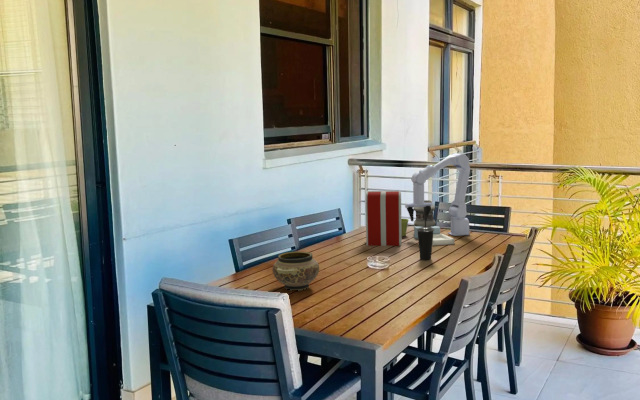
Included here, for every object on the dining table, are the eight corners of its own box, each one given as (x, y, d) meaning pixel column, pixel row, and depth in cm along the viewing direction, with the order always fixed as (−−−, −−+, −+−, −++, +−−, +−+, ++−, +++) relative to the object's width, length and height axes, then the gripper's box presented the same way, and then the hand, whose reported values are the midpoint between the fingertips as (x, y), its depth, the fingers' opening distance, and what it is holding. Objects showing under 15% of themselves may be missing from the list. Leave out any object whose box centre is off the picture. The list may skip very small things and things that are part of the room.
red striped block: (401, 245, 299) (400, 192, 296) (366, 245, 302) (365, 193, 299) (401, 239, 316) (401, 188, 312) (368, 239, 318) (367, 189, 315)
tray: (442, 238, 315) (442, 233, 314) (454, 243, 300) (454, 239, 300) (421, 239, 312) (421, 235, 312) (432, 245, 298) (432, 240, 297)
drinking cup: (434, 261, 265) (433, 217, 262) (416, 261, 266) (416, 217, 264) (434, 257, 272) (434, 214, 270) (417, 257, 274) (417, 214, 271)
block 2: (437, 237, 319) (437, 226, 318) (440, 238, 315) (440, 227, 314) (430, 237, 318) (430, 226, 317) (433, 239, 314) (433, 227, 313)
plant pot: (410, 236, 321) (409, 221, 320) (392, 237, 322) (392, 221, 321) (407, 233, 331) (407, 218, 330) (390, 234, 331) (390, 218, 330)
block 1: (421, 237, 320) (421, 226, 319) (423, 238, 316) (423, 227, 316) (414, 237, 319) (414, 226, 319) (416, 238, 316) (416, 227, 315)
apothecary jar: (410, 232, 335) (409, 200, 333) (429, 230, 339) (429, 199, 336) (419, 235, 324) (419, 203, 321) (439, 234, 327) (439, 201, 325)
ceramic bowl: (295, 284, 244) (286, 249, 243) (334, 277, 236) (324, 241, 236) (266, 302, 221) (256, 263, 221) (307, 294, 214) (297, 254, 213)
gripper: (408, 196, 309) (408, 222, 311) (434, 195, 312) (434, 220, 314) (403, 195, 316) (404, 220, 318) (429, 193, 319) (429, 218, 321)
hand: (418, 220), depth 317 cm, fingers open, 7 cm apart
